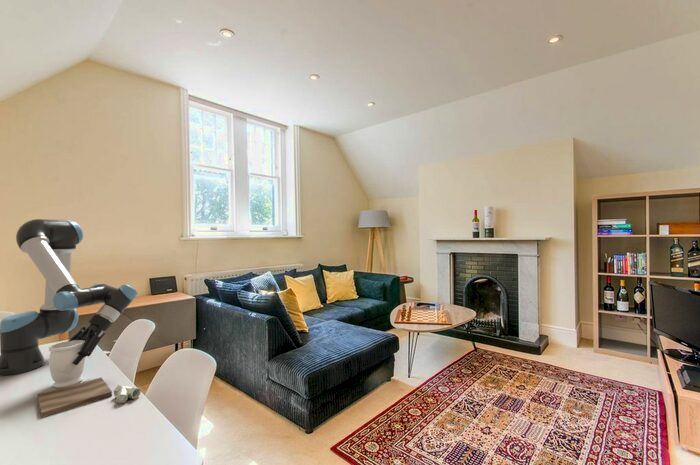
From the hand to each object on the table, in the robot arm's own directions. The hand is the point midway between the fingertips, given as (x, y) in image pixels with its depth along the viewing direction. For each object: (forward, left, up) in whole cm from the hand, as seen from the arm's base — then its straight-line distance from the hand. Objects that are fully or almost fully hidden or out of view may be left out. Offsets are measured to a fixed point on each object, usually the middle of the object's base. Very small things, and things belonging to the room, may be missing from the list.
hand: (58, 369), depth 125 cm
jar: (-1, +3, -6) cm, 7 cm away
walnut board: (+16, +3, -6) cm, 18 cm away
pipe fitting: (+31, +14, -7) cm, 35 cm away
